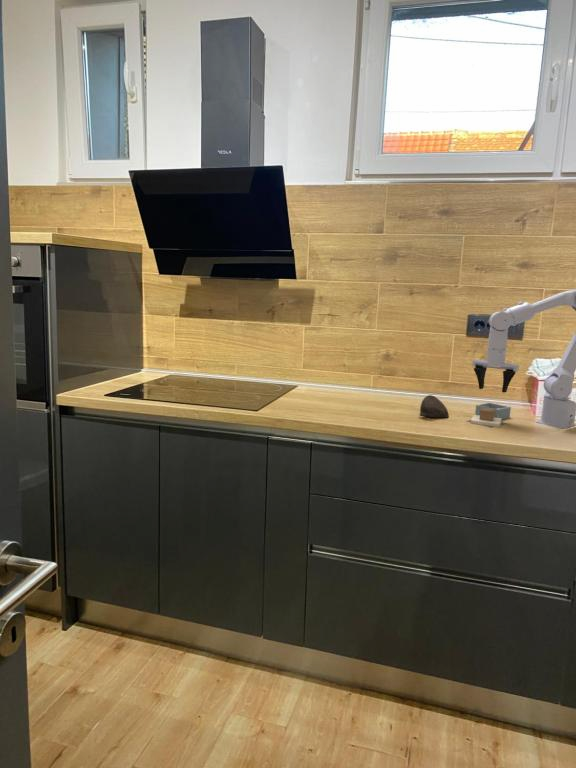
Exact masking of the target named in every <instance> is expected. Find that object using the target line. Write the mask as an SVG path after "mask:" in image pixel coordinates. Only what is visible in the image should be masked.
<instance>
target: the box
mask: <svg viewBox="0 0 576 768" xmlns="http://www.w3.org/2000/svg"><path fill="white" fill-rule="evenodd" d="M481 408H490V409H495V411H494V417H496V418H502V420H506V419H509V418H510V416H511V409H512V407H511V406H507V405H503V404H497V403H493V402H485V403H480V404H479V403H478V404H476V405H475V414H474V415H480V410H481ZM498 408H499V409H498Z"/></svg>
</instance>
